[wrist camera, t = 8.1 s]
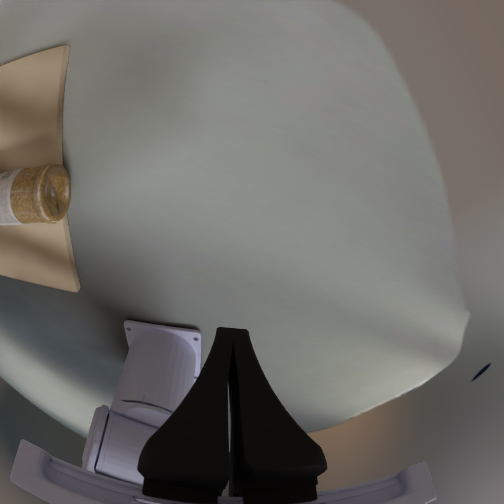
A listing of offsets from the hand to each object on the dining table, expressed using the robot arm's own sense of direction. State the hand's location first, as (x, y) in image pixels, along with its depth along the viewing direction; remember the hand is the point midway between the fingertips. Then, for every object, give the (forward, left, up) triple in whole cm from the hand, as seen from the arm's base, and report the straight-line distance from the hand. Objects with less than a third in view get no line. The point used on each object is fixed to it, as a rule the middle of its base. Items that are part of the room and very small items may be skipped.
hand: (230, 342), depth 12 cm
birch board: (+4, +24, -10) cm, 26 cm away
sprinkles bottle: (+4, +13, -7) cm, 15 cm away
